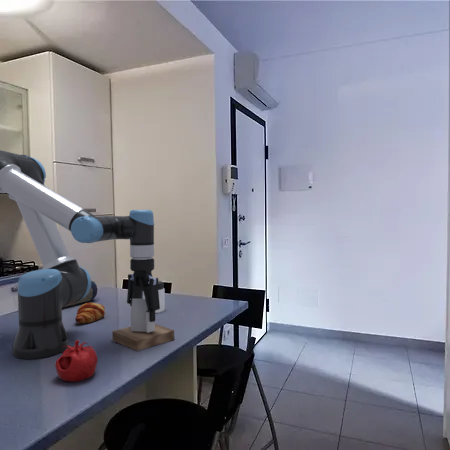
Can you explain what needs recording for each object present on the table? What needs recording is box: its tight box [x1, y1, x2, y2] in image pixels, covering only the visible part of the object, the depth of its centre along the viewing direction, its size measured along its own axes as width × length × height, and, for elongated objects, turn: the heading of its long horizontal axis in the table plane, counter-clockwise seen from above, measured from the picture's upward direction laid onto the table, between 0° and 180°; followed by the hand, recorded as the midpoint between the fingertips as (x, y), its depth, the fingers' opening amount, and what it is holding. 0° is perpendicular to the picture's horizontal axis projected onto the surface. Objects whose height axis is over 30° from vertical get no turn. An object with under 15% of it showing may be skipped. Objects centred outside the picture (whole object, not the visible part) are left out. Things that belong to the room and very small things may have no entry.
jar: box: [143, 280, 166, 314], centre depth 159 cm, size 9×8×12 cm
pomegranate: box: [54, 339, 98, 383], centre depth 95 cm, size 10×10×9 cm
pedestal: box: [112, 323, 175, 352], centre depth 122 cm, size 14×14×3 cm
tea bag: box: [130, 299, 148, 332], centre depth 122 cm, size 4×7×10 cm, turn 86°
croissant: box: [75, 302, 106, 324], centre depth 148 cm, size 21×10×8 cm, turn 175°
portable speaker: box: [62, 280, 98, 309], centre depth 171 cm, size 25×10×10 cm, turn 149°
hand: (143, 328), depth 122 cm, fingers closed on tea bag, 7 cm apart
